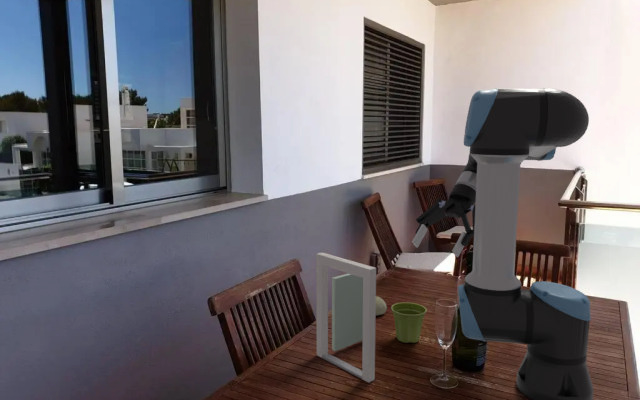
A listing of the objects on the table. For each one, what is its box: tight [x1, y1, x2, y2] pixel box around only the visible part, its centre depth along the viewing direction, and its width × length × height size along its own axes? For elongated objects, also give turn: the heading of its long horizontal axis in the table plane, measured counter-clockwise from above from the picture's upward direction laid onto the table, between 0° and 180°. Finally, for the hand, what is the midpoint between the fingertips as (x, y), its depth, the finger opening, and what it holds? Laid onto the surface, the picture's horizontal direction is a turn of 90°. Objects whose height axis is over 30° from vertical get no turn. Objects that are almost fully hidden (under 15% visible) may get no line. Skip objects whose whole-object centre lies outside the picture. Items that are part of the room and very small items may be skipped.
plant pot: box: [390, 302, 428, 344], centre depth 135 cm, size 9×9×9 cm
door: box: [331, 273, 363, 352], centre depth 130 cm, size 13×3×19 cm, turn 131°
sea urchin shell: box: [376, 295, 388, 316], centre depth 155 cm, size 9×8×8 cm
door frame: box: [315, 252, 377, 383], centre depth 118 cm, size 18×2×26 cm, turn 41°
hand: (434, 249), depth 139 cm, fingers open, 13 cm apart
